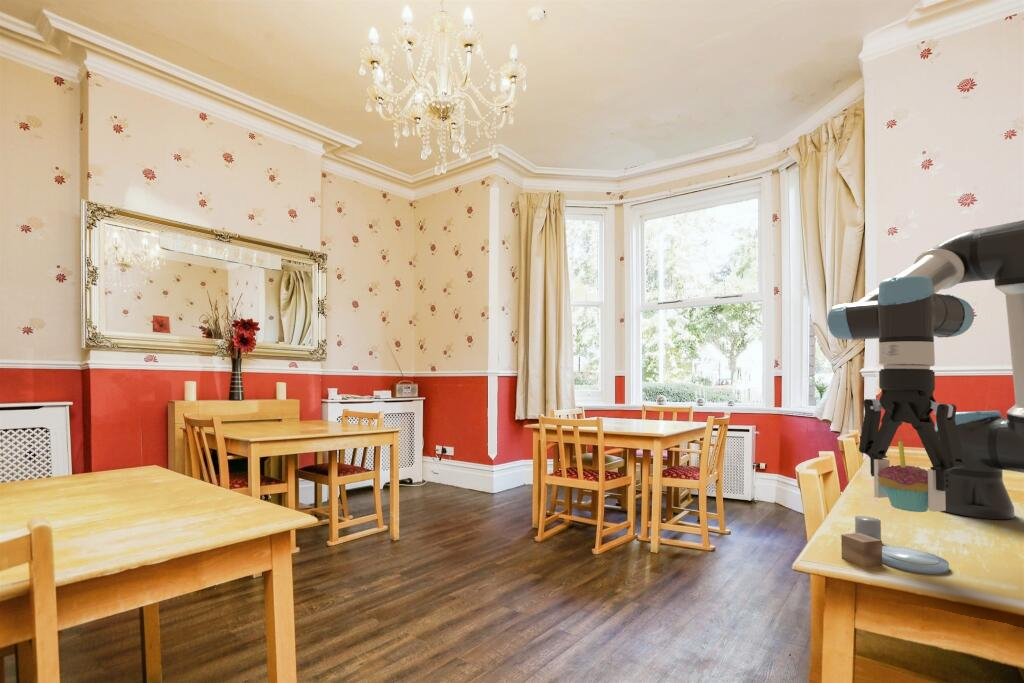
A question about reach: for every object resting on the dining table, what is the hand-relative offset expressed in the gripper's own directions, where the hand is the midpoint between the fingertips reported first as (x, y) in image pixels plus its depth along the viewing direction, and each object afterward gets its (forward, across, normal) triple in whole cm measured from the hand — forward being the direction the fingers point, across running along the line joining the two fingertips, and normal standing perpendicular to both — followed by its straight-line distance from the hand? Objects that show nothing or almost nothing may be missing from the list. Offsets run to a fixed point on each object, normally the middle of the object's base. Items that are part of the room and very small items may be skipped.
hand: (908, 503), depth 86 cm
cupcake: (+1, 0, 0) cm, 1 cm away
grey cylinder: (+10, -10, +4) cm, 15 cm away
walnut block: (+10, -2, -7) cm, 13 cm away
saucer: (+10, 0, 0) cm, 10 cm away
